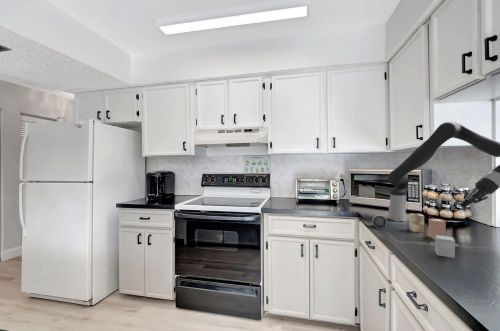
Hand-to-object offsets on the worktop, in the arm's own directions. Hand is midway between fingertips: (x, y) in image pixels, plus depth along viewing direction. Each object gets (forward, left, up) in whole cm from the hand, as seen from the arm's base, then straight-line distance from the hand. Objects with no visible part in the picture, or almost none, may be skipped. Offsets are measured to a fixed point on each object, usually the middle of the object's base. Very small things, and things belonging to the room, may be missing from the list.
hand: (461, 206), depth 122 cm
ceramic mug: (-35, -18, -18) cm, 43 cm away
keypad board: (-10, -7, -18) cm, 22 cm away
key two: (-5, -10, -16) cm, 19 cm away
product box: (+10, -25, -18) cm, 32 cm away
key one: (-17, -8, -16) cm, 25 cm away
